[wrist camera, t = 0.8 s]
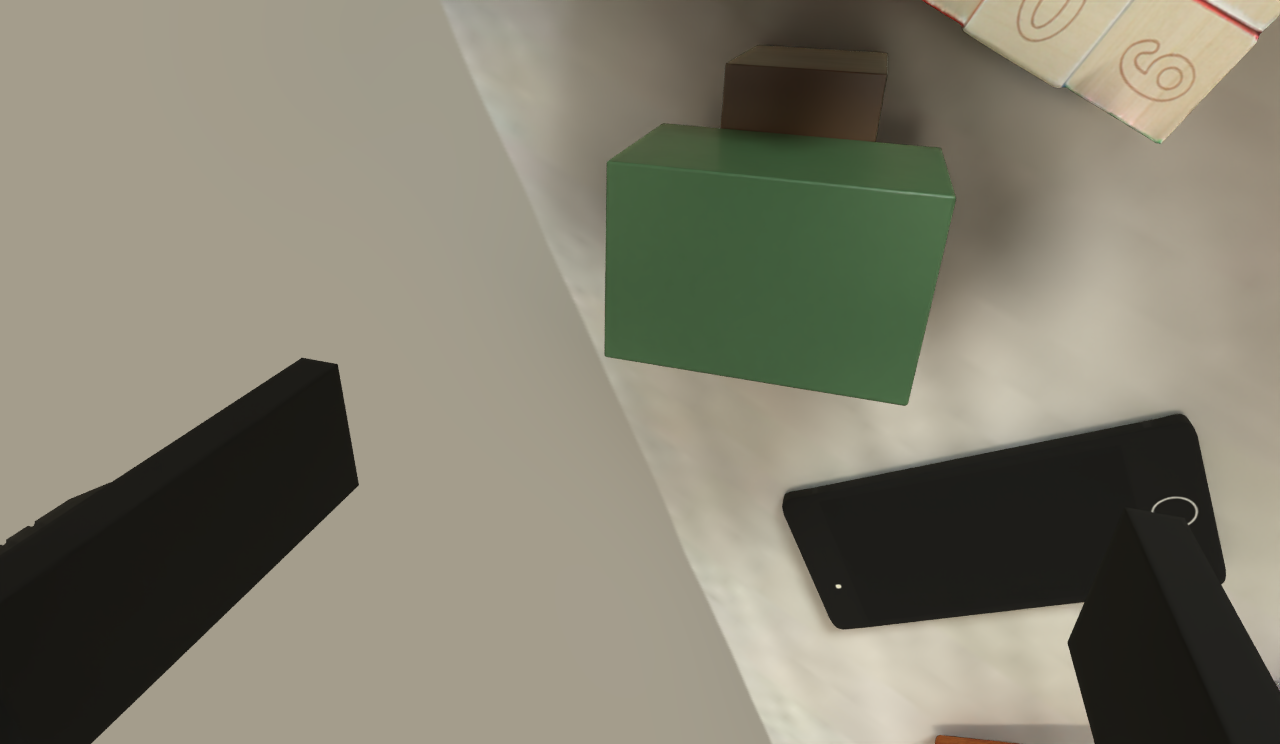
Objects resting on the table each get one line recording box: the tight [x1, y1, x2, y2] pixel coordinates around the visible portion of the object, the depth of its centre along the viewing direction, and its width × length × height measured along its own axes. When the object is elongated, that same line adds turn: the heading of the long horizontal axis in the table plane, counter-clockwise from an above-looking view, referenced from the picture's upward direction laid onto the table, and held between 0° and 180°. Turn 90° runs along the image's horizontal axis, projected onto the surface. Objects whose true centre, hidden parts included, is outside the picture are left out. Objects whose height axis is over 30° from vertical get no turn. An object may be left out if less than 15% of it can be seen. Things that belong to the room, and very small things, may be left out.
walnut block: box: [721, 45, 887, 142], centre depth 29 cm, size 10×5×7 cm, turn 178°
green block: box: [605, 123, 956, 406], centre depth 23 cm, size 6×9×6 cm, turn 88°
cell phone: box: [782, 414, 1226, 629], centre depth 36 cm, size 9×18×1 cm, turn 115°
